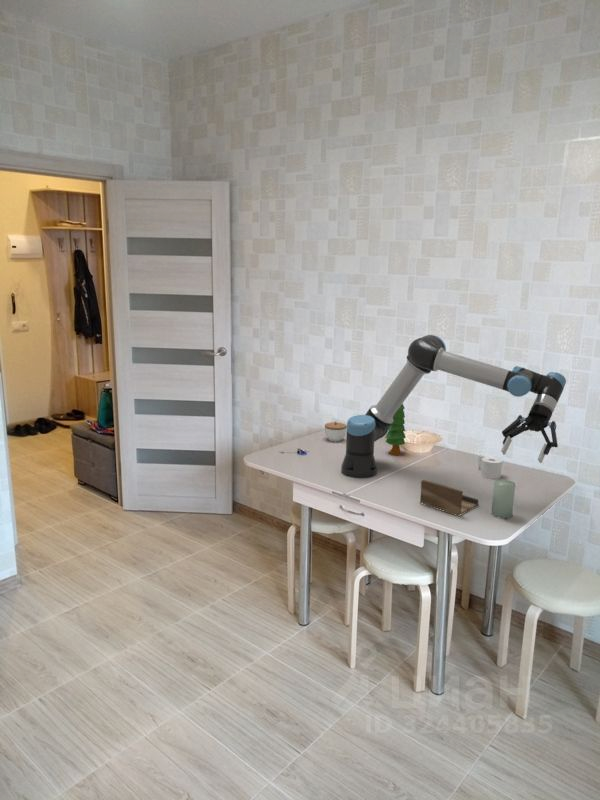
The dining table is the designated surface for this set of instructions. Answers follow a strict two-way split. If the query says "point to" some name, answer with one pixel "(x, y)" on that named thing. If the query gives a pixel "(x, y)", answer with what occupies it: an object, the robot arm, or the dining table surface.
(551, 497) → the dining table surface
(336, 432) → the lidded jar
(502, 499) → the canister
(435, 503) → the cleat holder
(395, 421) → the decorative tree
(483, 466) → the toilet paper
